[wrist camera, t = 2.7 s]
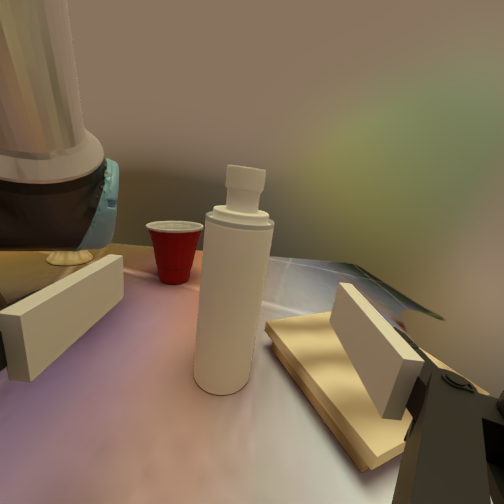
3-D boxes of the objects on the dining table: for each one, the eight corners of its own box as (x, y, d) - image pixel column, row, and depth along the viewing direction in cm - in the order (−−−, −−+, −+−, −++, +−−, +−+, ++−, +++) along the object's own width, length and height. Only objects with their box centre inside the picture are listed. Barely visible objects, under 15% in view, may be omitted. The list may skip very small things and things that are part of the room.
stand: (261, 345, 35) (266, 321, 34) (352, 327, 43) (358, 307, 41) (362, 491, 19) (377, 456, 18) (474, 421, 27) (489, 394, 26)
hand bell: (87, 251, 59) (82, 184, 54) (98, 262, 54) (94, 189, 49) (42, 256, 53) (33, 180, 48) (50, 269, 48) (40, 186, 43)
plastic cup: (170, 265, 58) (172, 215, 54) (209, 277, 54) (213, 225, 51) (132, 280, 48) (132, 220, 45) (176, 296, 45) (180, 232, 41)
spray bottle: (237, 405, 25) (278, 147, 18) (181, 382, 27) (197, 138, 19) (255, 362, 31) (291, 157, 24) (209, 346, 33) (229, 150, 26)
